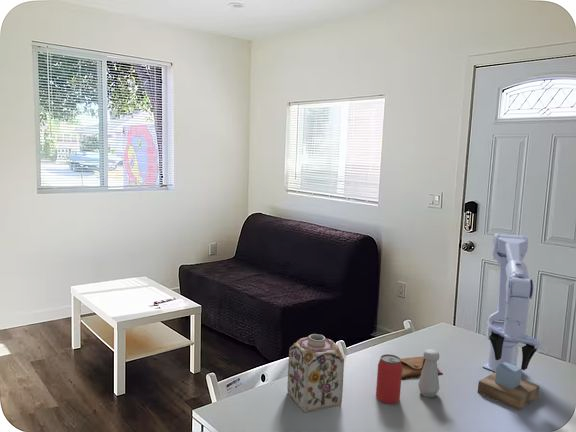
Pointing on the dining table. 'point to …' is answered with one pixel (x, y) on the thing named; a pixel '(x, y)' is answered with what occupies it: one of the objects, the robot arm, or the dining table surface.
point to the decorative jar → (315, 373)
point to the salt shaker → (429, 374)
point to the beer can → (389, 379)
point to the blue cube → (508, 375)
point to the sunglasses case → (413, 367)
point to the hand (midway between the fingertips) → (510, 364)
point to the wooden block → (508, 392)
